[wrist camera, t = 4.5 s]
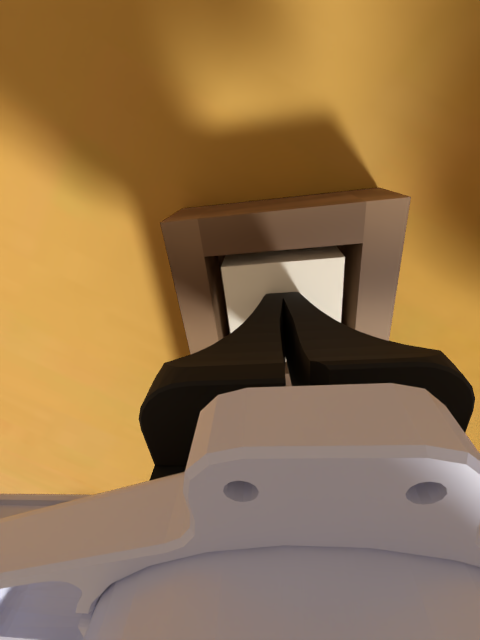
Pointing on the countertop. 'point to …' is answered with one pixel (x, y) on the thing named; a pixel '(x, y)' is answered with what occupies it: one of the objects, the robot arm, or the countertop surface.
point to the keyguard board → (283, 234)
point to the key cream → (283, 279)
